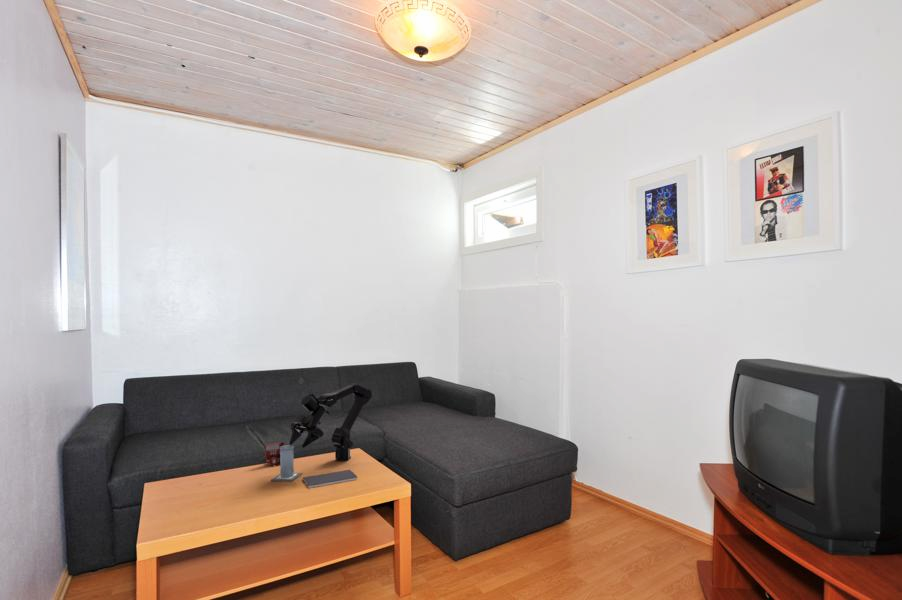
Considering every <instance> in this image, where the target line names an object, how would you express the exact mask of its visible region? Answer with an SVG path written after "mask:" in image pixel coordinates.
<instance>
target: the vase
mask: <svg viewBox="0 0 902 600" xmlns="http://www.w3.org/2000/svg"><path fill="white" fill-rule="evenodd" d="M294 448H295V445H293V444H291V445H290V444H286V445H285V444H284V446H281V447H280V451H279V453H280V462H279V463H280V468H279V469H280V473H279V474H281V478H289V477H292V476H294V473H295V472H294V468H295V467H294Z"/></svg>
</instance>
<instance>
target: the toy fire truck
mask: <svg viewBox="0 0 902 600" xmlns="http://www.w3.org/2000/svg"><path fill="white" fill-rule="evenodd" d="M284 445H287V444H286V442H285V441H281V442H275V443H266V444H265V445H264V451H265V462H266V463H268V464H269V466H271V467H273V466H272V465H275V466H277V465H276V464H278V463H280V447H281V446H284Z"/></svg>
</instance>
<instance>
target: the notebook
mask: <svg viewBox="0 0 902 600" xmlns="http://www.w3.org/2000/svg"><path fill="white" fill-rule="evenodd" d="M357 479H358V476H357V475H356V474H355V472H353V471H352V469H345V470H339V471H333V472H326V473H321V474H315V475H310V476H304V477H302V480H303V481H304V483H305V485H307V487H308V488H309V489H310V488H311V489H312V488H316V487H322V486H329V485H333V484H339V483H345V482H350V481H356V480H357Z"/></svg>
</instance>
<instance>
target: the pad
mask: <svg viewBox="0 0 902 600" xmlns="http://www.w3.org/2000/svg"><path fill="white" fill-rule="evenodd" d="M302 475H303V472H294V476H292V477H289V478H281V474H280V473H279V474H278V475H275V476H274V477H273V478H271V479H270V482H294V481H295V480H297V479H298V478H299V477H301V476H302Z"/></svg>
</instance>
